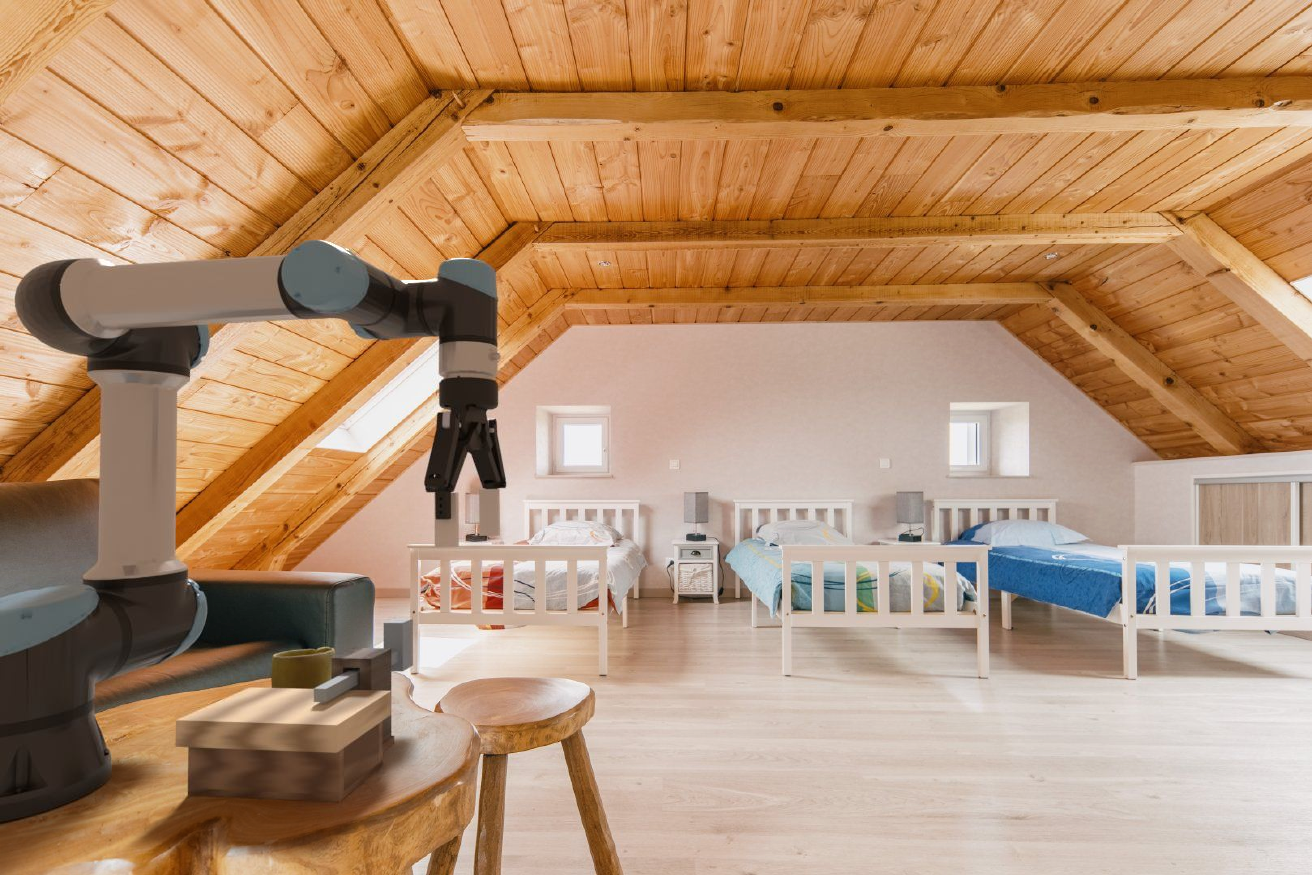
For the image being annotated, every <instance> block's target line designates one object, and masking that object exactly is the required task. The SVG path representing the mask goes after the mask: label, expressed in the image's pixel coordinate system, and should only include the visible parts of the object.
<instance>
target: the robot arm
mask: <svg viewBox="0 0 1312 875" xmlns="http://www.w3.org/2000/svg"><path fill="white" fill-rule="evenodd" d="M436 275H437V276H436V278H431V279H424V280H400V279H399V278H397V277H395V276H393V275H391V274H389V273H388V272H386V271H384V270H382V269H381V268H378V267H377V266H375V265H373V264H371V263H370V262H368V261H366V260H364V259H362V258H361V257H360V256H357V255H356V254H355V253H354V252H352V251H351V250H349V249H348V248H345V247H341V246H340V245H338V244H333V243H332V242H328V241H325V240H322V239H309V240H305V241H302V242H301V243H300V244H298V245H297V246H295V247H292V249H291V250H290V251H288V253H287V254H280V255H279V254H277V255H261V256H247V257H246V256H245V257H230V258H211V259H197V260H182V261H181V260H180V261H163V262H149V263H133V264H130V263H129V264H113V263H111V262H110V261H108V260H107V261H106V260H104V259H101V258H94V257H88V258H87V257H83V258H67V259H60V260H53V261H49V262H46V263H43V264H40V265H38V266H36V267H34V268H32V269H30V271H28V272H27V273H26V274H25V275H24V276H23V277H22V279H21V280H20V281H19V283H18V285H17V286H16V289H15V290H16V291H15V294H14V307H15V310H16V314H17V317H18V319H19V321H20V323H21V324H22V326H23V327H24V328H25V329H26V330H27V331H28V332H29V334H31V335H32V336H33V337H34V338H35V339H37V340H38V341H40V342H41V343H42V344H44V345H46V346H48V347H50V348H52V349H55V350H57V351H60V352H63V353H66V354H71V355H77V356H79V357H84V358H85V357H86V376H87V377H88V378H89V379H90V380H92V381H93V382H94V383H95V384H96V385H98V387H99V388H100V428H99V429H100V431H99V433H100V434H99V436H100V437H99V439H100V440H99V485H98V488H99V490H98V493H99V495H98V539H97V540H98V546H97V548H98V549H97V551H98V552H97V562H96V563H95V565H93V566H92V567H91V568H90V569H89V570H88V571H87V572H86V573H84V574H83V575H82V584H64V585H63V584H62V585H54V586H47V587H43V588H40V589H29V590H25V591H20V592H16V593H12V594H9V595H5V596H2V597H0V823H4V822H9V821H13V820H18V819H21V818H25V817H29V816H33V815H36V814H39V813H42V812H45V811H49V810H52V809H55V808H57V807H60V806H62V805H65V804H68V803H71V802H73V801H75V800H77V799H79V798H82V797H84V796H86V795H89V794H90V793H91V792H93V791H95V790H97V789H99V788H100V787H101V786H103V785H104V784H105V783H107V781H108V780H109V779H110V778H111V775H112V754H111V751H110V749H109V748H107V744H106V741H105V738H104V735H103V732H102V729H101V728H100V725H99V723H98V720H97V718H96V716H95V695H96V694H95V691H96V684H98V683H101V682H104V681H107V680H110V679H114V678H116V677H118V676H119V677H120V676H122V675H125V674H127V673H128V674H129V673H131V672H134V671H137V670H140V669H143V668H150V667H154V666H156V665H158V664H159V665H160V664H161V663H163V662H166V661H167V660H169V659H171V658H174V657H176V656H178V655H180V654H182V653H183V652H185V651H186V650H188V649H189V648H190V647H191V646H192V645H193V644H194V643H195V642H196V641H197V639H198V638H199V637H200V635H201V633H202V631H203V629H204V626H205V624H206V620H207V615H208V603H207V601H208V600H207V597H206V595H205V593H204V591H202V590H199V589H200V586H199V584H198V583H197V582H196V581H194V580H193V579H191V578H189V566H188V565H187V564H186V563H184V562H183V561H182V560H180V559H179V558H178V557H177V555H176V533H177V532H176V530H177V528H176V526H177V524H176V523H177V457H178V456H177V453H178V452H177V448H178V447H177V444H178V443H177V442H178V435H177V434H178V393H179V391H180V390H181V389H182V388H184V386H186V384H188V383H189V382H190V381H191V370H193V369H195V368H196V367H198V366H199V365H200V364H201V363H202V362H203V360H202V358H203V357H206V356H207V354H208V352H209V349H210V342H211V341H210V340H211V338H210V337H211V334H210V329H209V325H221V324H224V325H225V324H240V323H258V322H276V321H295V320H298V321H299V320H322V319H337V320H338V319H340V320H343V321H344V322H347V324H348V326H349V328H350V329H352V330H353V331H354V333H355V335H357V336H358V337H359V338H361V339H365V340H380V341H383V342H384V341H390V340H396V339H397V340H398V339H399V340H400V339H415V338H416V339H417V338H431V337H433V338H435V337H438V375H439V376H440V377H442V378H443V379H441V380H440V381H439V382H438V402H439V403H438V404H439V407H440V408H441V409H444V411H438V412H437V414H436V424H435V425H436V428H435V433H434V438H433V442H432V446H431V450H430V453H429V454H430V455H429V459H428V463H427V468H426V472H425V475H424V480H423V484H424V489H425V492H426V493H434V548H457V547H459V545H460V543H459V542H460V540H459V536H460V534H459V528H460V526H459V525H460V524H459V521H460V520H459V518H460V516H459V512H460V511H459V510H460V509H459V508H460V507H459V506H460V505H459V504H460V503H459V496H460V495H459V492H457V491H456V492H455V489H456V486H457V483H458V481H459V479H460V475H461V474H462V473H461V472H462V469H463V466H464V464H465V461H466V458H467V455H468V453H469V454H470V455H471V458H472V460H473V464H474V467H475V470H476V472H477V475H478V480H480V484H481V486H482V488H480V489H478V493H479V494H478V496H479V497H478V499H479V500H478V502H479V504H478V505H479V506H478V509H479V510H478V511H479V514H478V516H479V517H478V518H479V519H478V520H479V521H478V522H479V523H478V524H479V533H478V534H479V537H481V536H482V537H485V536H486V537H487V536H488V537H493V536H496V537H497V536H500V535H501V517H500V516H501V512H500V510H501V508H500V507H501V506H500V505H501V504H500V502H501V501H500V500H501V499H500V498H501V497H500V495H501V494H500V490H501V489H506V487H507V480H506V479H507V478H506V474H505V473H506V472H505V467H504V462H503V457H502V451H501V445H500V441H499V436H498V435H499V434H498V421H497V419H496V418H488V415H487V411H491V410H495V409H497V408H498V407H499V383H498V382H497V381H496V380H495V378H496V377H497V376H499V375H498V369H499V368H498V363H499V362H498V361H499V360H500V359H501V358H502V355H501V354H500V352H498V343H499V342H498V314H499V312H498V309H499V308H498V302H499V297H498V287H497V285H498V284H497V273H496V271H495V269H494V268H493V267H492V266H491V265H489V264H488V263H487V262H485V261H482V260H478V259H475V258H468V257H467V258H465V257H457V258H450V259H448V260H447V259H446V260H444V261H442V262H441V263H440V264H439V266H438V272H437V274H436ZM445 410H448V411H445Z"/></svg>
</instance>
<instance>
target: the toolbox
mask: <svg viewBox="0 0 1312 875" xmlns="http://www.w3.org/2000/svg"><path fill="white" fill-rule="evenodd" d="M353 668H360V683H359V684H358V685H356V686H354V687H352V688H351V689H349V690H378V691H391V692H392V671H391V648H384V647H382V648H380V647H379V648H378V647H377V648H375V647H353V648H351V649H349V650H345V651H344V652H342V653H340V654H337V655H335V657H333V658H332V664H331V679H333V678H335V677H337V676H339V675H341V674H343V673H345V672H347V671H349V670H351V669H353ZM394 744H395V735H392V714H391V715H390V716H389V717H387V718H386V719H384V720H383V721H381V722H380V723H379V724H377V725H376V726H374V727H373V728H371V729H370V730H369V731H367V732H366V733H364V734H363V735H361V736H360V737H359V738H357V739H356V740H354V741H353V742H351V743H350V744H349V745H347V746H346V747H344V748H343V749H341V750H340V751H339V752H337V753H332V752H305V751H278V750H250V749H223V748H196V747H187V749H188V750H187V751H188V752H187V753H188V754H187V755H188V756H187V757H188V758H187V796H197V797H199V796H204V797H220V798H221V797H222V798H224V797H225V798H242V799H260V800H261V799H264V800H265V799H266V800H281V801H282V800H284V801H285V800H287V801H302V802H303V801H306V802H308V801H309V802H327V803H329V802H331V803H340V802H342V801H343V800H344V799H345V798H346V797H348V796H349V795H350V794H352V793H353V792H354V791H355V790H356V789H357V788H358V787H360V786H361V785H362V784H364V783H365V781H367V780H368V779H369V778H371V777H372V776H373V775H374V774H375V773H377V772H378V771H379V770H380V769H381V768H383V753H384V752H385V751H386V750H388V749H389V748H390V747H391V746H392V745H394Z"/></svg>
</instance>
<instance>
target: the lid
mask: <svg viewBox="0 0 1312 875" xmlns="http://www.w3.org/2000/svg"><path fill="white" fill-rule="evenodd" d="M390 715H391V716H392V690H391V691H378V690H347V691H345V692H343V693H342V694H340V695H338V696H336V697H335V698H333V699H331V700H329V701H327V702H314V689H294V688H272V687H253V686H252V687H250V686H249V687H247V688H245V689H243V690H240V691H239V692H236V693H233V694H231V695H230V696H227V697H225V698H223V699H221V700H218V701H215V702H214V703H211V704H209V705H207V706H204V707H202V708H201V709H198V710H195V711H193V712H191V713H189V714H187V715H184V716H182V717H180V718H178V719H176V720H175V747H176V748H188V747H196V748H223V749H250V750H278V751H305V752H332V753H337V752H339V751H340V750H341V749H343V748H344V747H346V746H347V745H349V744H350V743H351V742H353V741H354V740H356V739H357V738H359V737H360V736H361V735H363V734H364V733H366V732H367V731H369V730H370V729H371V728H373V727H374V726H376V725H377V724H379V723H380V722H381V721H383V720H384V719H386V718H387V717H389V716H390Z"/></svg>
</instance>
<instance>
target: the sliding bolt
mask: <svg viewBox="0 0 1312 875" xmlns="http://www.w3.org/2000/svg"><path fill="white" fill-rule="evenodd" d="M413 637H414V619H413V617H412V618H410V617H409V618H408V617H407V618H406V617H405V618H404V617H403V618H400V617H399V618H398V617H395V618H392V619H389V620H387V621H384V622H383V648H391V672H405V671H406V670H407V669H409V668H411V667H412V666H414V638H413ZM359 683H360V668H353V669H351V670H349V671H347V672H345V673H343V674H341V675H339V676H337V677H335V678H333V679H331V680H330V681H328V682H326V683H324V684H322V685H320V686H318V687H316V688H314V702H327V701H329V700H331V699H333V698H335V697H336V696H338V695H340V694H342V693H343V692H345V691H347V690H349V689H351V688H352V687H354V686H356V685H358V684H359Z"/></svg>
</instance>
